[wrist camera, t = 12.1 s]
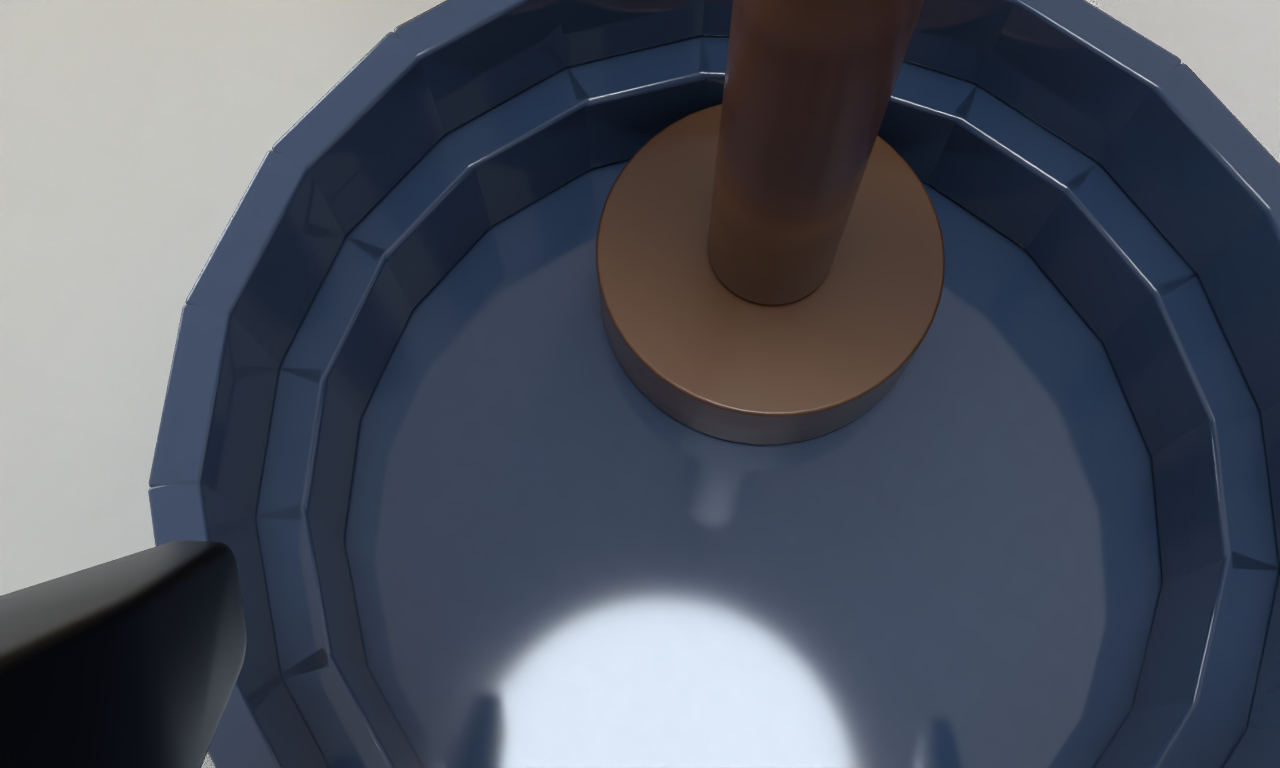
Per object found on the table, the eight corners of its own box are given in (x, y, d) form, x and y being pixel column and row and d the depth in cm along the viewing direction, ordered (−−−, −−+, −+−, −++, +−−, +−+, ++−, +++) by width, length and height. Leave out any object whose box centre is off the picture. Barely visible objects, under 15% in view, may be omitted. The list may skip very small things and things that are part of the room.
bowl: (1282, 1071, 15) (1530, 1187, 11) (200, 1005, 15) (28, 1092, 11) (1177, 117, 20) (1324, -65, 15) (344, 82, 20) (260, -105, 16)
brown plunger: (877, 488, 17) (1562, -387, 4) (555, 389, 18) (297, -656, 5) (955, 197, 19) (1635, -1101, 6) (656, 113, 19) (667, -1240, 6)
